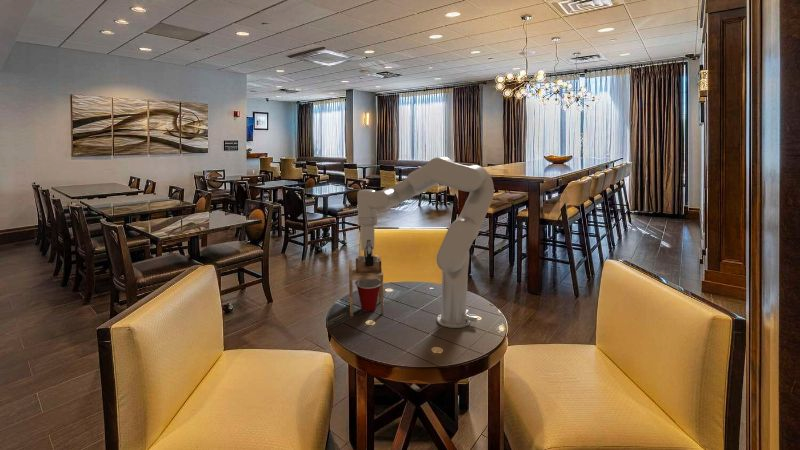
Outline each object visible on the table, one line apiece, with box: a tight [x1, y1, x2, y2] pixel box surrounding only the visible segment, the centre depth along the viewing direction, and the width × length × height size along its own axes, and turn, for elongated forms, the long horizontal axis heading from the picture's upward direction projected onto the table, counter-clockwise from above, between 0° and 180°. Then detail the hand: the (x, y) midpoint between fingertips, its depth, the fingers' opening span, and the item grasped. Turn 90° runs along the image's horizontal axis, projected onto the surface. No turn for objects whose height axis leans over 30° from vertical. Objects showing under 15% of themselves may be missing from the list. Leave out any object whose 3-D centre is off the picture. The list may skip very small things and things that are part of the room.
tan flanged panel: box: [348, 259, 384, 317], centre depth 174 cm, size 13×13×20 cm
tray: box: [355, 254, 382, 273], centre depth 172 cm, size 10×6×6 cm, turn 97°
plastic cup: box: [354, 279, 381, 312], centre depth 174 cm, size 11×11×12 cm
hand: (368, 262), depth 172 cm, fingers open, 9 cm apart
